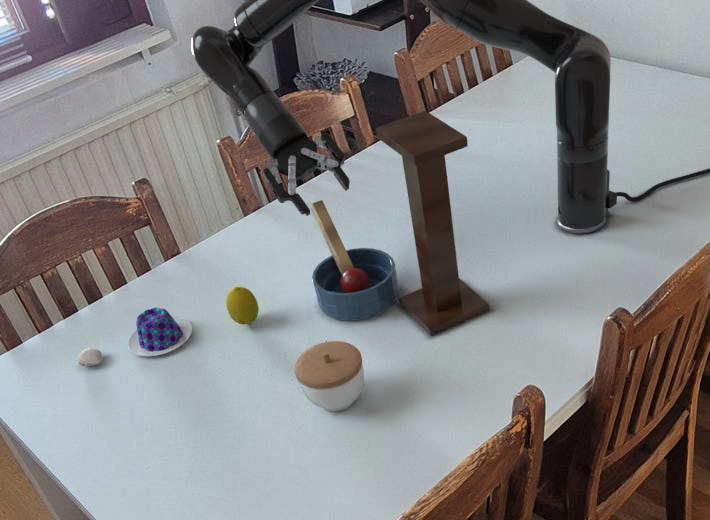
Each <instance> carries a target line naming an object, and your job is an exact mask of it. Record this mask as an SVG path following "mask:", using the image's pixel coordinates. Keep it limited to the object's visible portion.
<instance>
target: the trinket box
mask: <svg viewBox="0 0 710 520" xmlns="http://www.w3.org/2000/svg"><path fill="white" fill-rule="evenodd" d="M293 370H294V375H295V378H296V379H297V382H298V384H299V387H300V389H301V391H302V393H303V394H304V396H305V397H306V399H307V400H309V402H310V403H311V404H313V405H314V406H316V407H317V408H320V409H323V410H325V411H328V412H339V411H344V410H345V409H348V408H350V407H351V406H352V405H353V404H354V403H355V402H356V400H357V399H358V397H359V396H360V394H361V393H362V390H363V388H364V382H365V370H364V365H363V357H362V353H361V350H359V349H358V348H357V346H355V345H354V344H351V343H349V342H346V341H339V340H332V341H324V342H320V343H317V344H315V345H312V346H310V347H309V348H306V350H304V351H303V352H301V354H299V356H298V357H297V358H296V360H295V362H294V366H293Z"/></svg>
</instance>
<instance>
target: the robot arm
mask: <svg viewBox="0 0 710 520" xmlns="http://www.w3.org/2000/svg"><path fill="white" fill-rule="evenodd" d="M319 1H320V0H245V1H244V2H242V4H240V5H239V6H238V7H237V8H236V10H235V11H234V16H233V17H234V18H233V20H234V23H235V24H234V25H233V26H232V27H231V28H230V29H228V30H224V29H222V28H220V27H216V26H213V25H204V26H201V27H199V28H198V29H197V30H196V31H194V33H193V35H192V38H191V42H190V43H191V45H190V46H191V52H192V55H193V58H194V60H195V62H196V64H197V66H198V68H200V70H201V71H202V72H203V73H204V74H205V76H207V77H208V78H209V79H210V81H212V83H213V84H215V85H216V87H218V89H219V90H220V91H222V92H223V93H224V94H225V95H226V96H227V97H228V99H230V100H231V102H232V104H233V105H234V107H235V108H236V109H237V111H238V112H239V113H240V115H241V116H242V117H243V119H244V120H245V122H246V124H247V126H248V128H249V129H250V131H251V132H252V134H253V136H254V137H255V139H256V140H257V141H258V142H259V143H260V145H261V146H262V147H263V149H264V150H265V152H266V153H267V155H268V156H269V157H270V158H271V160H272V161H273V162H274V166H272V167H270V168H268V167H265V168H264V169H262V171H263V172H262V173H263V179H264V180H265V182H266V184H267V185H268V187H269V188H270V190H271V191H272V193H273V194H274V196H275V198H276V199H277V201H278V202H279V204H284V203H285V202H291V203H293V205H294V206H295V208H296V209H297V211H298V212H299V214H301V216H303V215H305V216H306V217H308V216H310V215H311V208H309V206H308V205H307V203H305V201H304V199H303V198H302V196H301V195H300V194H299V192H297V180H303V179H305V178H306V177H307V176H308V175H311V174H313V173H314V172H316V169H318V170H320V171H328V172H331V173H332V174H333V176H334V178H335V179H336V180H337V182H338V183H339V184H340V186H341V188H342V189H343V191H345V192H347V191H348V190H349V189H350V182H351V181H350V178H349V176H348V175H347V174H346V173H345V171H344V170H343V168H342V166H343V165H344V164H345V158H346V154H345V153H344V151H343V150H342V149H341V148H340V146H339V145H338V144H337V143H336V142H335V141H334V139H332V137H331V136H330V134H329V132H327V131H321V133H320V136H318V138H316V139H315V140H312V139H311V138H310V137H309V136H308V134H307V133H306V132H305V130H304V129H303V128H302V126H301V124H300V123H299V122H298V121H297V119H296V118H295V117H294V116H293V114H292V113H291V112H290V110H289V109H288V107H287V105H285V103H284V102H283V100H282V99H280V98H279V97H278V95H277V94H276V93H275V92H274V91H273V89H272V88H271V86H270V84H268V82H267V81H266V79H265V78H264V77H263V75H262V74H261V73H260V72H259V71H257V70H256V69H254V68H252V67H251V66H250V65H251V64H252V62H253V61H254V60H255V59H256V58H257V56H258V55H259V54H260V53H261V51H262V50H263V48H264V47H265V45H267V44H268V43H269V42H271V41H272V40H273V39H275V38H276V37H278V36H279V35H280V34H281V33H283V32H284V31H285V30H287V29H288V28H289V27H290V26H292V24H294V23H295V22H296V21H297V20H298V19H299V18H301V17H302V16H303V15H304V14H305V13H306V12H307V11H309V10H310V9H311V8H312V7H313V6H315V5H316V4H317V3H318V2H319ZM419 1H420V2H421V3H423V5H424V6H426V8H428V9H429V11H431V12H432V13H433V14H434V15H435V16H436V17H438V18H439V19H440V20H441V21H442V22H443V23H445V24H446V25H448V26H449V27H451V28H453V30H455V31H458V32H459V33H460V34H463V35H464V36H467V38H469V39H472V40H474V41H476V42H478V43H479V44H483V45H485V46H489V47H492V48H496V49H501V50H506V51H512V52H515V53H520V54H523V55H525V56H528V57H529V58H531V59H533V60H535V61H537V62H538V63H540V64H541V65H543V66H544V67H546V68H548V69H549V70H551V71H552V72H553V73H555V76H554V99H555V100H554V101H555V105H554V106H555V127H556V151H557V152H556V155H557V157H556V158H557V159H556V160H557V163H556V164H557V167H556V168H557V173H556V174H557V206H556V212H557V220H556V221H557V226H558V228H559V229H561V230H562V231H564V232H566V233H570V234H574V235H575V234H577V235H582V234H583V235H584V234H589V233H593V232H596V231H598V230H600V229H601V228H603V227H604V226H605V224H606V221H607V218H608V217H609V209H612V208H613V207H614V206H616V205H617V204H618V197H623V198H625V199H626V200H627V201H629V202H639V201H641V200H643V199H645V198H646V197H648V196H649V195H650V194H652V193H653V192H654V191H656V190H657V189H659V188H662V187H665V186H667V185H671V184H675V183H677V182H682V181H686V180H689V179H694V178H696V177H699V176H703V175H706V174H709V173H710V167H709V168H706V169H702V170H699V171H696V172H692V173H689V174H685V175H681V176H678V177H673V178H671V179H667V180H664V181H662V182H659V183H657V184H655V185H653V186H651V187H650V188H648V189H647V190H646V191H644V192H643V193H642V194H640V195H638V196H631V195H630V194H628V193H627V192H624V191H612V190H610V176H611V175H610V174H611V173H610V170H609V169H608V160H609V159H608V154H609V129H610V100H611V99H610V98H611V96H610V95H611V70H612V69H611V68H612V59H611V53H610V50H609V48H608V46H607V45H606V43H605V41H603V40H602V39H601V38H599V37H598V36H597V35H595V34H592V33H591V32H588V31H586V30H584V29H581V28H579V27H576V26H574V25H572V24H569V23H568V22H565V21H563V20H561V19H560V18H559V19H558V18H556V17H555V16H553V15H550V14H549V13H547V12H545V11H544V10H542V9H540V8H539V7H537V6H536V5H535V4H533V3H532V2H530V1H528V0H419ZM318 148H321V149H323V150H327V152H328V153H329V154H330V155H331V157H333V158H330V157H328V156H326V155H325V154H322V153H320V152H318ZM278 173H279V174H281V175H284V176H286V177H288V190H285V191H284V189H282V187H281V186H280V184H279V183H278V178H279V177H278Z"/></svg>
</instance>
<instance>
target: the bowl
mask: <svg viewBox="0 0 710 520" xmlns="http://www.w3.org/2000/svg"><path fill="white" fill-rule="evenodd" d="M346 251H347V254H348V256H349V258H350V260H351V262H352V264H353V266H354V268H360V269H362V270H363V271H365V272H366V274H367V275H368V277H369V280H370V286H369V289H366V290H363V291H359V292H353V293H344V292H343V290H342V288H341V284H340V281H341V277H342V275H341V273H340V271H339V268H338V266H337V264H336V262H335V260H334V258H333V256H332V254H331V255H330V256H328V257H326V258H325V259H323V260H322V261H321V262H320V263H318V264H317V266H316V267H315V268H314V270H313V271H312V277H311V280H312V284H313V287H314V292H315V295H316V298H317V302H318V306H319V309H320V310H321V312H323V314H324V315H326V316H328V317H330V318H332V319H336V320H341V321H358V320H359V321H360V320H364V319H368V318H372V317H375V316H377V315H379V314H382V313H384V312H385V311H386V310H388V309H389V308H391V307H392V306H393V305H394V304H395V302H396V301H397V300H398V298H399V296H400V285H399V279H398V273H397V266H396V263H395V260H394V258H393V257H392V255H390V254H389V253H388V252H385V251H384V250H381V249H377V248H372V247H371V248H370V247H358V248H349V249H346Z"/></svg>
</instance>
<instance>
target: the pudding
mask: <svg viewBox="0 0 710 520" xmlns="http://www.w3.org/2000/svg"><path fill="white" fill-rule="evenodd" d="M135 322H136V323H135V326H136V329H135V330H134V332H132V334H131V335H130V337H129V338H128V342H127V346H128V349H129V351H130V352H132V353H133V354H135V355H137V356H141V357H156V356H160V355H164V354H168V353H170V352H173V351H174V350H176V349H178V348H179V347H181V346H182V345H183V344H185V343H186V341H188V340H189V338H190V337H191V335H192V332H193V325H192V323H191V322H190V321H189V320H188V319H186V318H184V317H181V316H175V315H174V316H172V315H171V314H170V313H169V311H168V310H167V309H166V308H162V307H161V308H160V307H152V308H148V309H145V310H143V312H142V313H140V314H139V315H138V316H137V317H136V321H135Z"/></svg>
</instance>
